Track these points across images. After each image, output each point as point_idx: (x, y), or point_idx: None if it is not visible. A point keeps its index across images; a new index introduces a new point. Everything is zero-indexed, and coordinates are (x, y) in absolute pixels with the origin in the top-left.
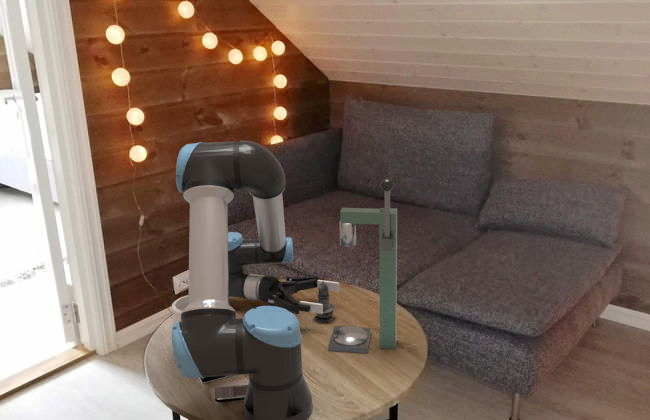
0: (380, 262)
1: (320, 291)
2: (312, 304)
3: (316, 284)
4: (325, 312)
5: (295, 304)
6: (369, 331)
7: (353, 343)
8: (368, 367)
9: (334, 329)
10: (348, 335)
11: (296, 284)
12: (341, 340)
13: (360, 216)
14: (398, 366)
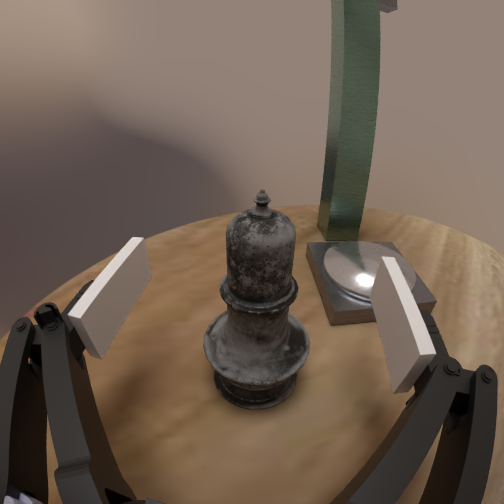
0: (379, 33)
1: (291, 258)
2: (408, 292)
3: (75, 350)
4: (302, 325)
5: (460, 370)
6: (324, 243)
7: (399, 256)
8: (422, 249)
9: (357, 307)
10: (376, 267)
11: (98, 471)
12: (405, 276)
13: None
14: (389, 222)
